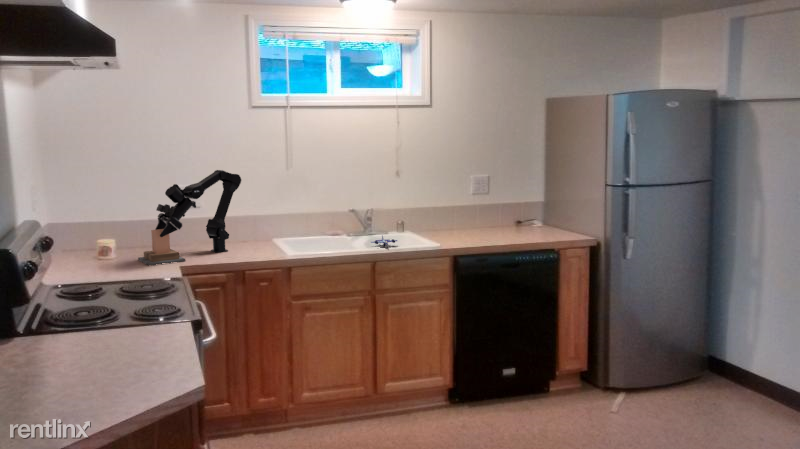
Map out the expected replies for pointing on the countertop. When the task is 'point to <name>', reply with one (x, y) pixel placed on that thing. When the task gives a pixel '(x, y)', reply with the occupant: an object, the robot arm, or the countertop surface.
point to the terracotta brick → (160, 242)
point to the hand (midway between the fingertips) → (157, 235)
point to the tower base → (161, 257)
